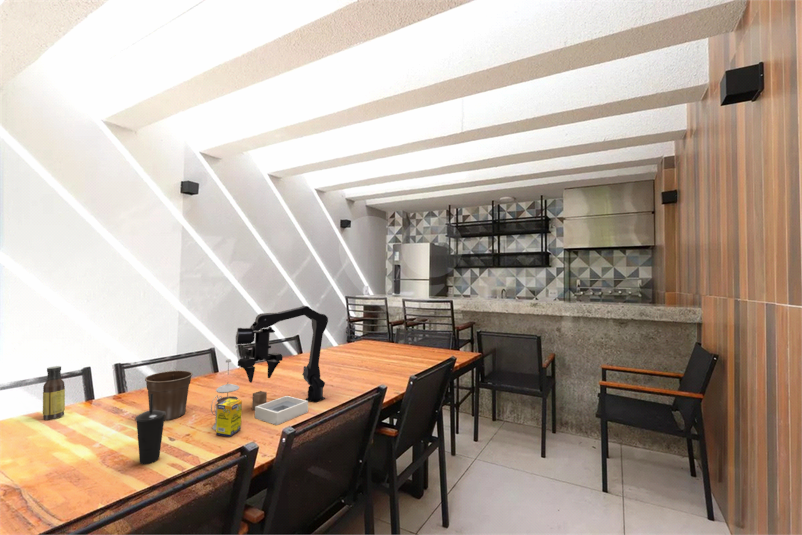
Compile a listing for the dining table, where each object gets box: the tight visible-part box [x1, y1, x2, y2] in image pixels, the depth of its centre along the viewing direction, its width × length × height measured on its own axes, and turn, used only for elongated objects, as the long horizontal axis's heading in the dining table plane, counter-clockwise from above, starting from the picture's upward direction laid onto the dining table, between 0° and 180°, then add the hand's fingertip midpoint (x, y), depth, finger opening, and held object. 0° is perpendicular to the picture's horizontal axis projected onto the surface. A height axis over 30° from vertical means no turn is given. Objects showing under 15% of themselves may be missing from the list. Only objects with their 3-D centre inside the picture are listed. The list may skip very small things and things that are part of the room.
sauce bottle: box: [42, 365, 66, 421], centre depth 140 cm, size 6×6×20 cm
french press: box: [210, 358, 240, 431], centre depth 133 cm, size 10×12×25 cm
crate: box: [254, 395, 309, 426], centre depth 144 cm, size 16×13×4 cm
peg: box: [251, 390, 268, 412], centre depth 150 cm, size 4×4×7 cm
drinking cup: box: [134, 394, 166, 465], centre depth 108 cm, size 8×8×20 cm
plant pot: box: [144, 370, 193, 422], centre depth 143 cm, size 16×16×16 cm
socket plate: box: [266, 401, 297, 412], centre depth 144 cm, size 14×11×2 cm
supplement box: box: [215, 399, 243, 438], centre depth 127 cm, size 6×6×11 cm
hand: (260, 380), depth 150 cm, fingers open, 9 cm apart
